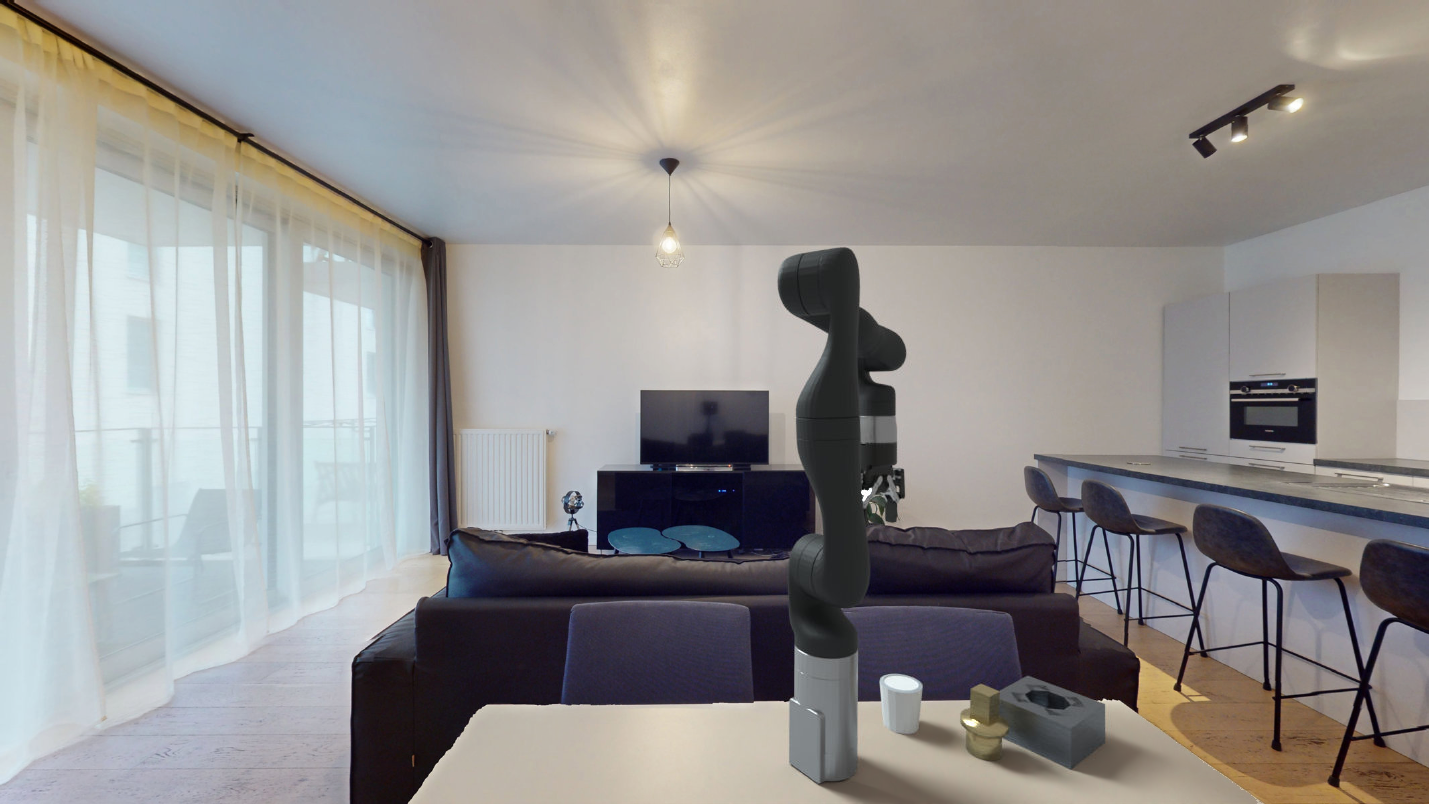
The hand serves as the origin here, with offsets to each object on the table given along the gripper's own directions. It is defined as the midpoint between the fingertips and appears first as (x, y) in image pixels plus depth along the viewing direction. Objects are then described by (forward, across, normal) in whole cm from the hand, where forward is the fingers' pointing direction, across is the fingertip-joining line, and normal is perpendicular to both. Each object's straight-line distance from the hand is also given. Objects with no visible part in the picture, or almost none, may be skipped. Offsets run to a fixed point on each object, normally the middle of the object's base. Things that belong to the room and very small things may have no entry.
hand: (876, 524), depth 112 cm
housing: (+30, -8, +28) cm, 42 cm away
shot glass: (+30, +8, +12) cm, 34 cm away
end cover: (+30, +4, +24) cm, 39 cm away
